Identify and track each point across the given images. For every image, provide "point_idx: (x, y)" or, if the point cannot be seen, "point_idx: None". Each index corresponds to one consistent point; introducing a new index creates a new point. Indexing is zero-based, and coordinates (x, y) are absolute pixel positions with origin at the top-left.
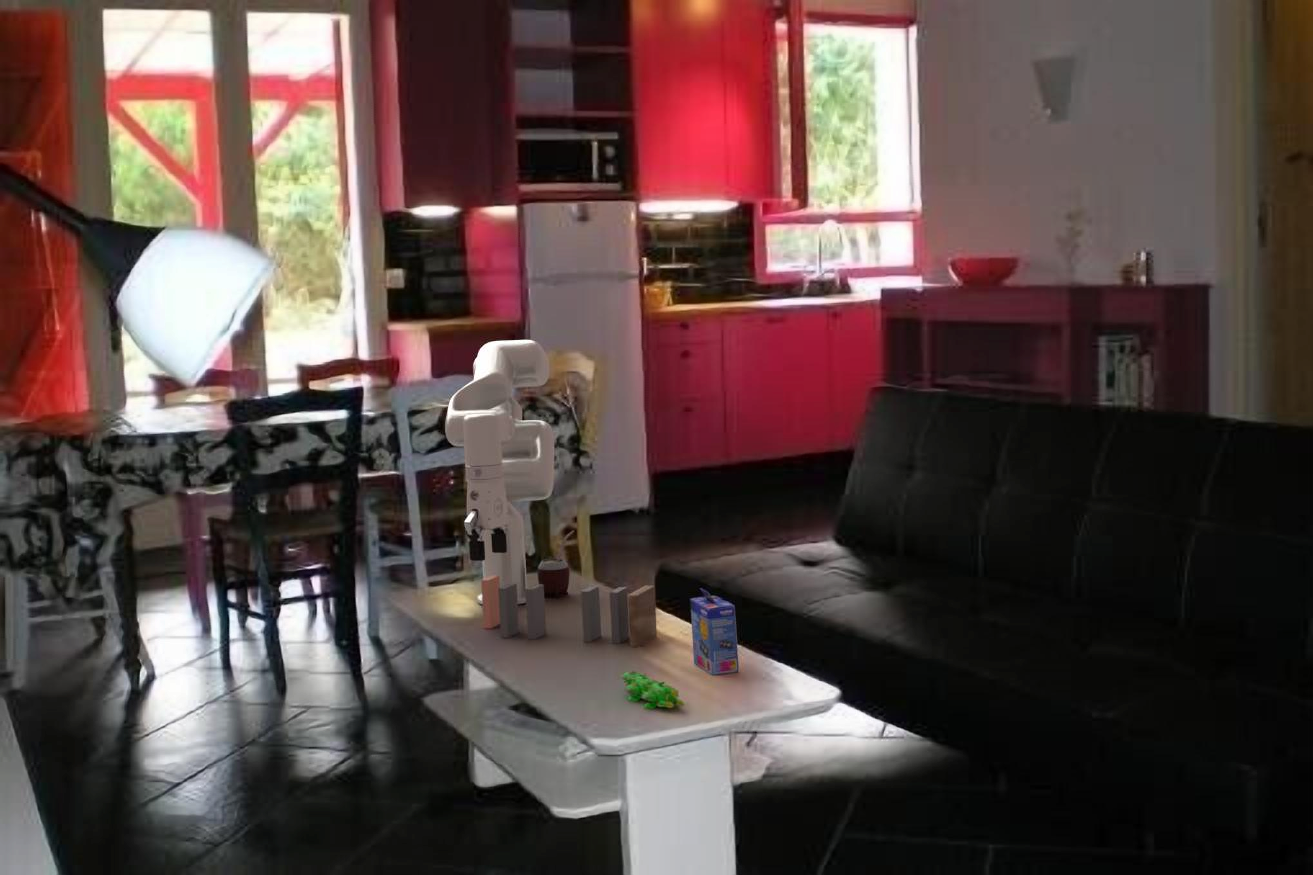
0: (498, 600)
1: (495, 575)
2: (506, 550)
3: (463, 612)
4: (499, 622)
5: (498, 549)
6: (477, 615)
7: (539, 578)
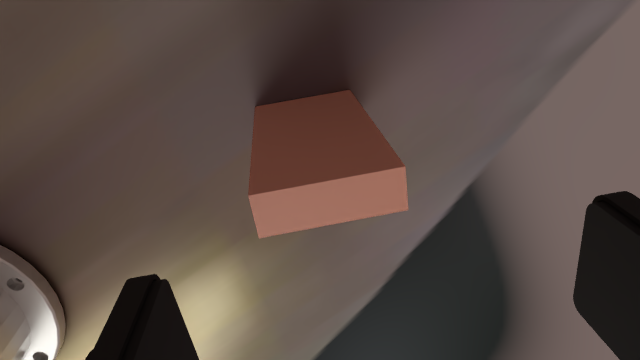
0: (277, 135)
1: (257, 217)
2: (135, 282)
3: None
4: (276, 104)
5: (180, 345)
6: (195, 259)
7: None
